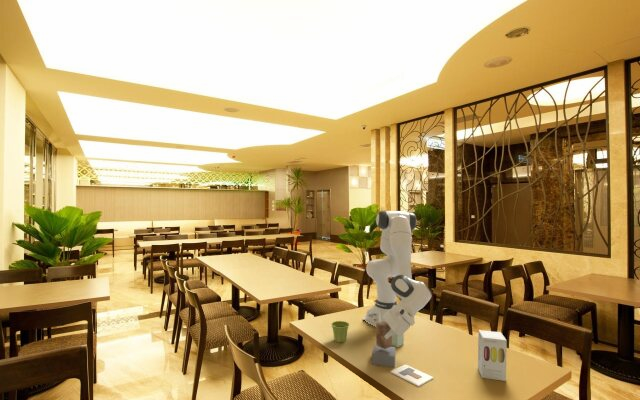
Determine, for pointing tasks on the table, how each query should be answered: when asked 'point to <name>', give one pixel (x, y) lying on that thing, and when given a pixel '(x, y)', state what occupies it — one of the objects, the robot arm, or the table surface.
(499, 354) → the supplement box
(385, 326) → the walnut block
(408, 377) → the card
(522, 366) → the table surface
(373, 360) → the charcoal base block
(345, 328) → the plant pot
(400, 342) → the sage block
